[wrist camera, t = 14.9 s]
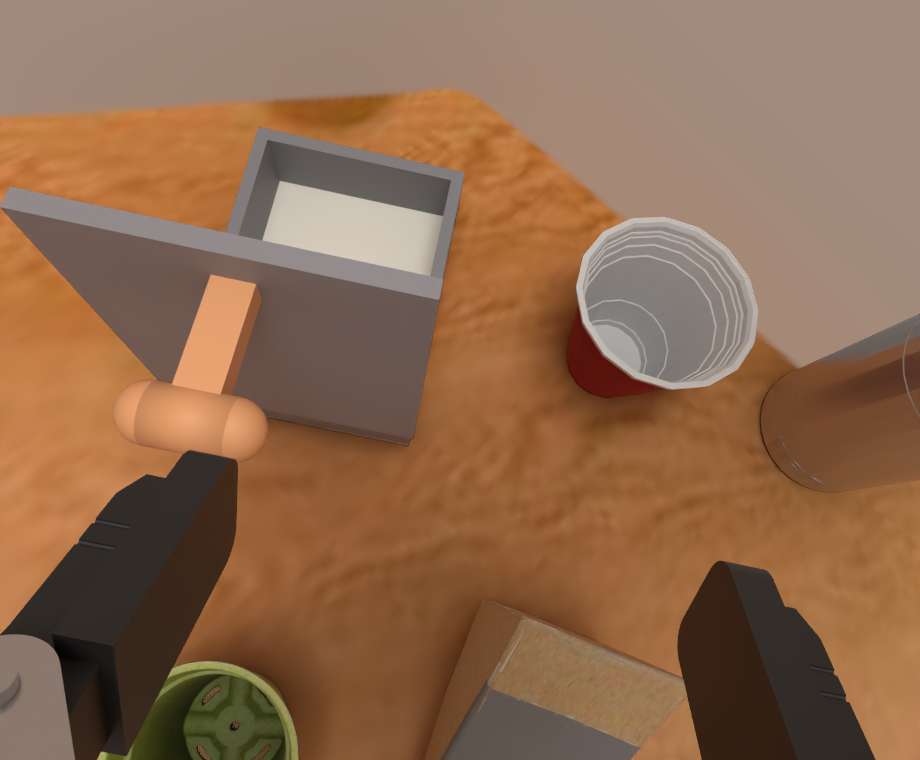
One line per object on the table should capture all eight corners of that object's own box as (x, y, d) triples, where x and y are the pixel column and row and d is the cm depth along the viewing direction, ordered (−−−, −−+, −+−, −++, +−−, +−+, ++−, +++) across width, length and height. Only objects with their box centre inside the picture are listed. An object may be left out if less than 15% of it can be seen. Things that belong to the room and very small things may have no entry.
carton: (274, 176, 50) (258, 126, 44) (456, 216, 51) (464, 172, 45) (205, 405, 45) (178, 383, 39) (408, 446, 46) (410, 430, 40)
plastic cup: (697, 330, 50) (789, 262, 39) (644, 456, 47) (725, 424, 36) (569, 264, 51) (622, 178, 39) (508, 386, 48) (545, 332, 36)
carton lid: (10, 186, 22) (-91, 385, 19) (443, 279, 22) (400, 482, 20) (171, 376, 38) (128, 495, 36) (415, 426, 39) (390, 546, 37)
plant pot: (246, 607, 42) (210, 620, 34) (348, 720, 41) (337, 762, 33) (124, 725, 40) (53, 769, 32) (229, 847, 39) (183, 927, 30)
